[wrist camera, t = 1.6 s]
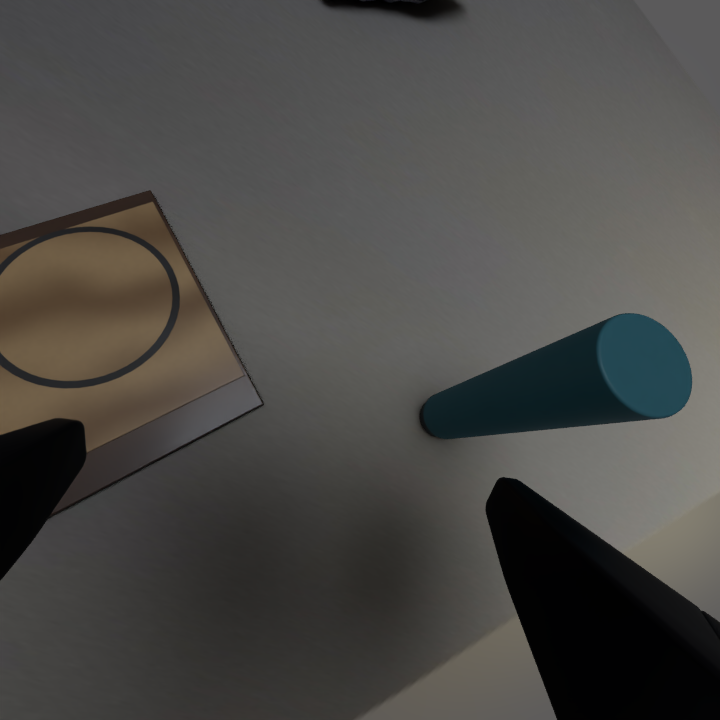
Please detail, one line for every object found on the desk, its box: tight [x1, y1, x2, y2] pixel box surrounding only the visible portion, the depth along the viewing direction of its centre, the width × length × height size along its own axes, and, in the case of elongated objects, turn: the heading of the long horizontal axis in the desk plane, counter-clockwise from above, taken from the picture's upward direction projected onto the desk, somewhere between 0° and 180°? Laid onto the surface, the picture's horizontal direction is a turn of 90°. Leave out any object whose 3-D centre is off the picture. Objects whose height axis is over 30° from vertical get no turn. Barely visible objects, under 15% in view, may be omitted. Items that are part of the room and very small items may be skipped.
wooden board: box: [0, 190, 263, 517], centre depth 18 cm, size 16×20×1 cm
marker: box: [420, 313, 692, 439], centre depth 15 cm, size 3×3×14 cm
